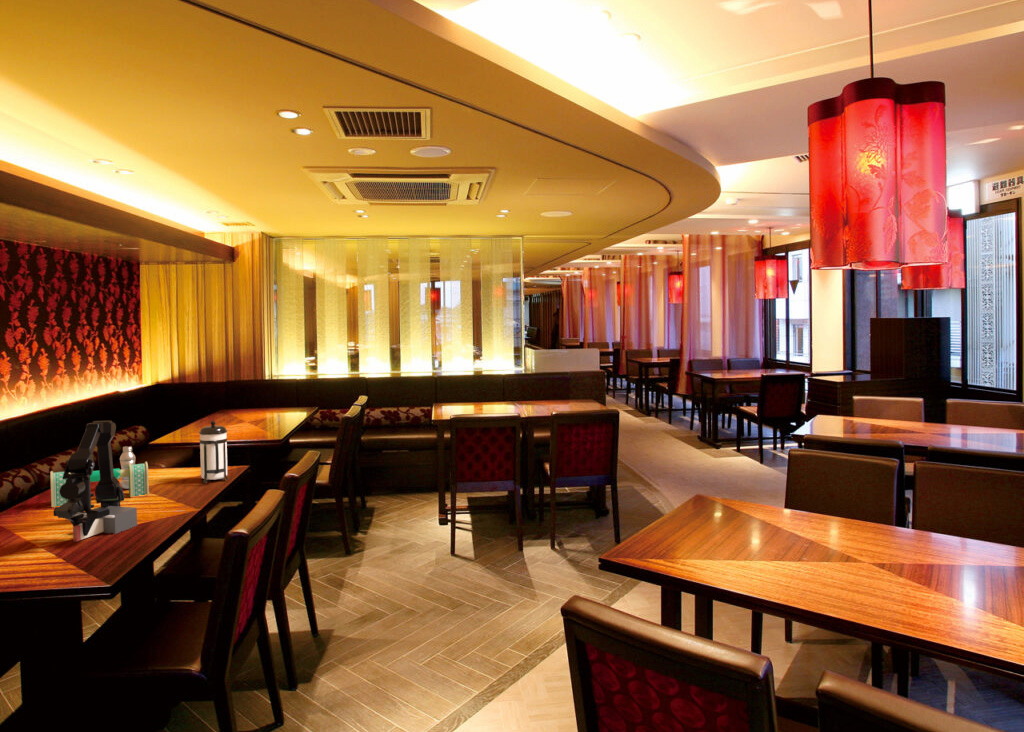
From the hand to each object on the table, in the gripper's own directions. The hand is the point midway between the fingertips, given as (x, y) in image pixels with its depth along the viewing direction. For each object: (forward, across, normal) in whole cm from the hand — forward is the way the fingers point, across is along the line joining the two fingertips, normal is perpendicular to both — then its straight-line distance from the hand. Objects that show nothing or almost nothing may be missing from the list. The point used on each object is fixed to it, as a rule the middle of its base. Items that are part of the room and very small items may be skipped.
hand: (82, 535), depth 225 cm
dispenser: (+2, 0, +13) cm, 13 cm away
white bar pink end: (+1, 0, +7) cm, 7 cm away
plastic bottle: (+2, -44, +66) cm, 79 cm away
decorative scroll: (+2, -40, +47) cm, 62 cm away
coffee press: (+2, -15, +89) cm, 91 cm away
